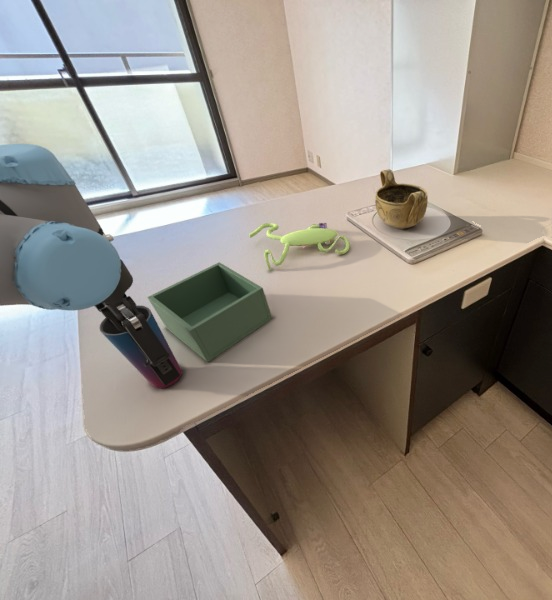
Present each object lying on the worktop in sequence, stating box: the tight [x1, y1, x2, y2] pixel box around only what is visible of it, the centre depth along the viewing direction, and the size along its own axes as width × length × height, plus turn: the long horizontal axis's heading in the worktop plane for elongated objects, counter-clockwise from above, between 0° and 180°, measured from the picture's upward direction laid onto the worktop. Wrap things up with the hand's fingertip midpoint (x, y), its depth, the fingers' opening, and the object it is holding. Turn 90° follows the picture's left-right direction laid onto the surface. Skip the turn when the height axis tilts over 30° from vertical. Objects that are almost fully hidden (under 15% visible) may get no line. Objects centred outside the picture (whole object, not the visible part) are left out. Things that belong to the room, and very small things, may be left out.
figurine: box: [248, 222, 350, 271], centre depth 95 cm, size 18×27×6 cm
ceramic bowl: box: [374, 168, 429, 230], centre depth 105 cm, size 22×17×15 cm
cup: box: [99, 304, 183, 389], centre depth 56 cm, size 7×7×15 cm
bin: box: [147, 262, 273, 363], centre depth 69 cm, size 16×16×9 cm
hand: (162, 370), depth 60 cm, fingers closed on cup, 6 cm apart
